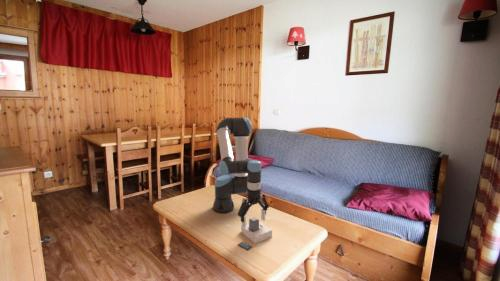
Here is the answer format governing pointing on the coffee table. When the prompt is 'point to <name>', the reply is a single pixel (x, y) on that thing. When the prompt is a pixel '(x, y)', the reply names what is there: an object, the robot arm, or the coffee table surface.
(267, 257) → the coffee table surface
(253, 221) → the block
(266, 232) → the outlet plate
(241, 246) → the phone
